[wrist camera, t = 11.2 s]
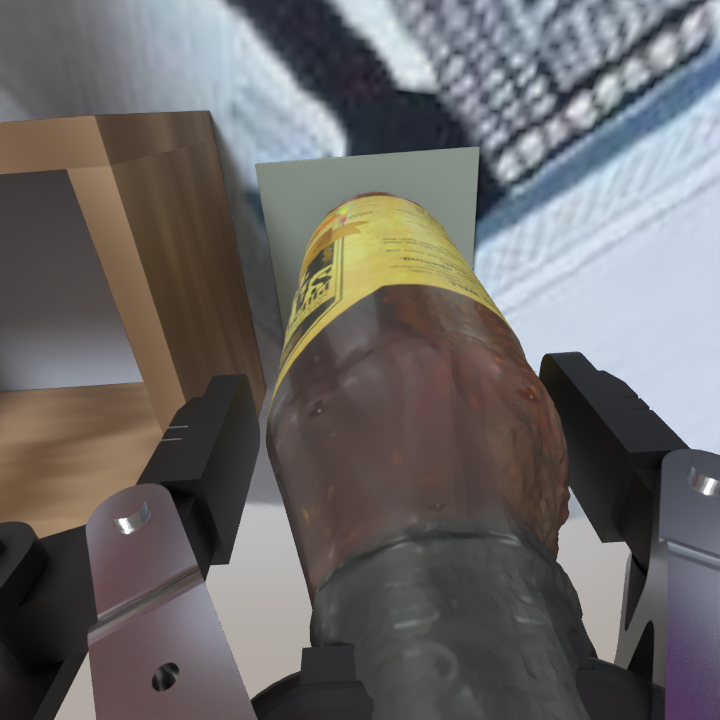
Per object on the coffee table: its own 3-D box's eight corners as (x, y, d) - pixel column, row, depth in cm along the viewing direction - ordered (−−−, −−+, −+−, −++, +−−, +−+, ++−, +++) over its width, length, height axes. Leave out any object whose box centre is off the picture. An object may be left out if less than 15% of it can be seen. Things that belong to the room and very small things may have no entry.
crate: (208, 110, 17) (94, 114, 10) (266, 389, 24) (225, 529, 16) (-195, 142, 18) (-627, 172, 10) (-30, 410, 24) (-212, 556, 16)
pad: (477, 146, 18) (479, 147, 18) (466, 342, 23) (468, 346, 22) (256, 163, 18) (255, 164, 18) (289, 355, 23) (288, 359, 22)
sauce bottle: (303, 185, 18) (-359, 1425, 1) (454, 188, 19) (1854, 1259, 1) (308, 329, 22) (159, 1219, 4) (437, 330, 22) (784, 1184, 5)
